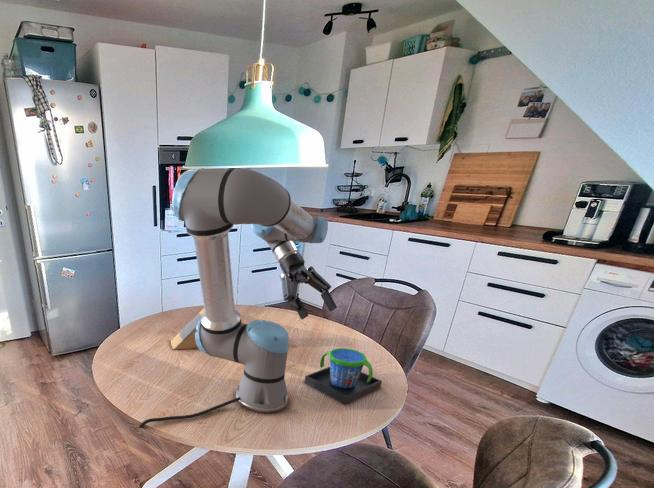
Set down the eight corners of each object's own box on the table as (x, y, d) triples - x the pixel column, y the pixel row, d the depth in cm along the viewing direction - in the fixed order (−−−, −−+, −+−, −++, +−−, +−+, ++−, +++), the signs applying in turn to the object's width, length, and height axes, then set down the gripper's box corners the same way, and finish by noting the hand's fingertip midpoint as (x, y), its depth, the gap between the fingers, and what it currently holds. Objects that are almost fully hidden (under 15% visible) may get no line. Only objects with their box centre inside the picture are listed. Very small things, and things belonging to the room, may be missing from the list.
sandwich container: (170, 340, 156) (169, 305, 150) (207, 338, 158) (208, 303, 152) (172, 349, 148) (172, 312, 142) (211, 347, 150) (213, 310, 144)
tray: (345, 404, 113) (347, 397, 112) (304, 382, 124) (305, 375, 123) (380, 387, 121) (382, 380, 120) (338, 368, 133) (339, 362, 132)
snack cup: (311, 379, 125) (315, 351, 121) (328, 369, 131) (333, 342, 127) (357, 399, 114) (364, 369, 110) (374, 388, 120) (381, 358, 116)
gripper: (307, 260, 138) (336, 311, 133) (255, 269, 126) (284, 326, 121) (321, 247, 132) (352, 301, 126) (268, 256, 120) (300, 315, 114)
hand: (319, 313), depth 124 cm, fingers open, 13 cm apart
